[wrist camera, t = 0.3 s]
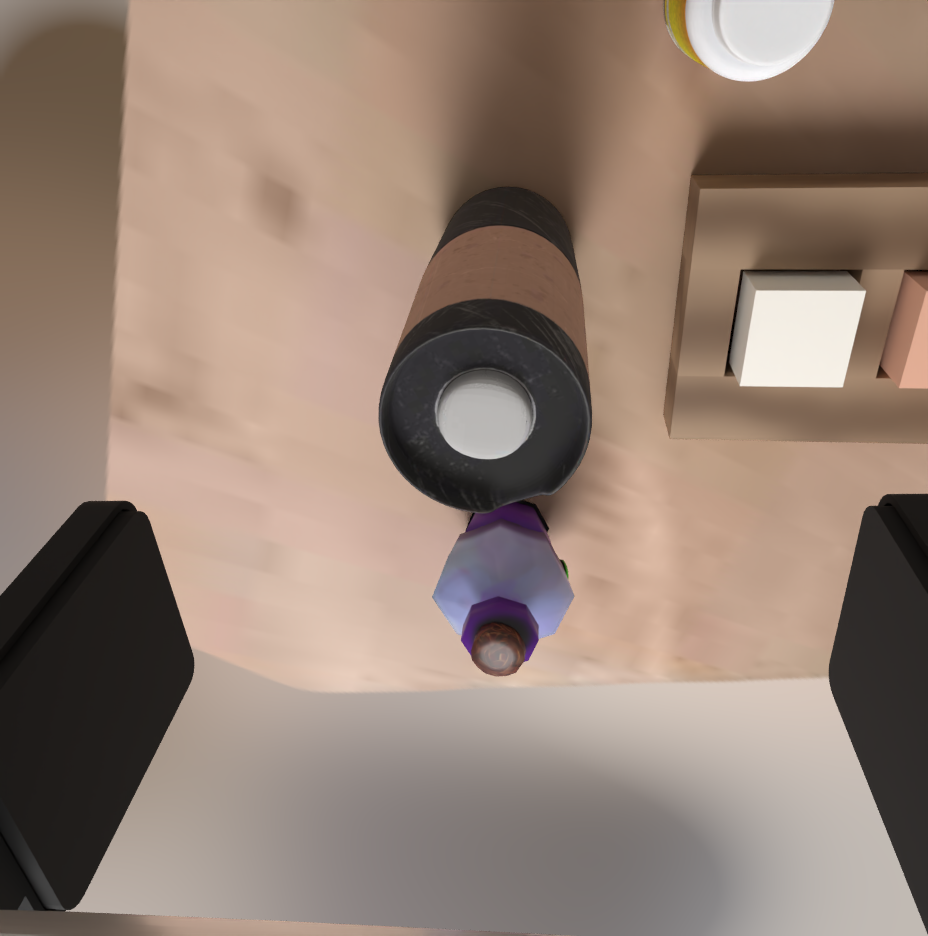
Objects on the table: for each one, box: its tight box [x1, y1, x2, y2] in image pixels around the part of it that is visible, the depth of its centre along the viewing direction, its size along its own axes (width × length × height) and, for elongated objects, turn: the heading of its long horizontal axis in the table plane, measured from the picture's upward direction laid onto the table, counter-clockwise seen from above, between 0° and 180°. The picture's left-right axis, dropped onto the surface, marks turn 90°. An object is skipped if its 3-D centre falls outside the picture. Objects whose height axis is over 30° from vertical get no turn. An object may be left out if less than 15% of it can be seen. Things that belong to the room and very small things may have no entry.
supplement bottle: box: [663, 0, 834, 81], centre depth 33 cm, size 6×6×10 cm
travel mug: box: [379, 187, 592, 513], centre depth 36 cm, size 8×8×20 cm
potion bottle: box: [432, 500, 574, 676], centre depth 50 cm, size 9×9×12 cm
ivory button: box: [729, 271, 866, 387], centre depth 42 cm, size 5×5×3 cm
